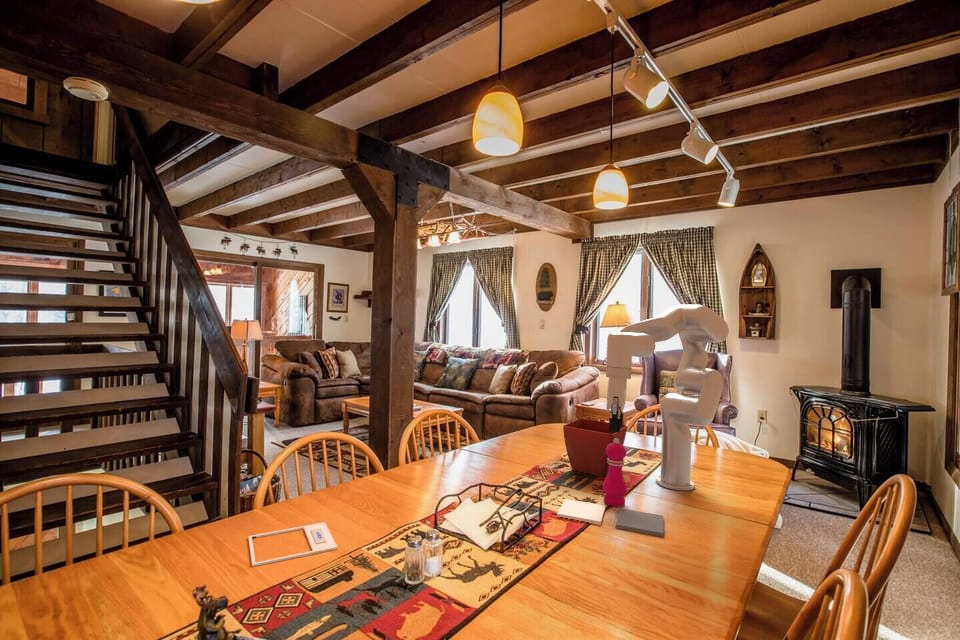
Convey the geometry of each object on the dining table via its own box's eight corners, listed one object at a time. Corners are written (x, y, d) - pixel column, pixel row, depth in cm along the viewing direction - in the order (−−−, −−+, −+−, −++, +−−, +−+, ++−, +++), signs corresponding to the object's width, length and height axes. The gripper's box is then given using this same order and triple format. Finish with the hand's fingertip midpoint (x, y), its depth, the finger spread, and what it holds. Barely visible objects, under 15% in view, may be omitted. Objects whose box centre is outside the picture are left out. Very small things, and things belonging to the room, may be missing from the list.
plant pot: (626, 468, 178) (628, 424, 178) (611, 482, 162) (613, 434, 162) (578, 459, 188) (580, 417, 188) (560, 471, 172) (561, 425, 172)
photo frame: (337, 546, 109) (252, 563, 101) (337, 550, 109) (252, 568, 101) (324, 521, 122) (248, 535, 113) (324, 525, 122) (248, 539, 113)
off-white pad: (565, 501, 143) (565, 498, 143) (605, 509, 138) (605, 505, 138) (557, 517, 132) (557, 513, 132) (600, 525, 127) (600, 521, 127)
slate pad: (619, 511, 137) (619, 508, 137) (663, 519, 133) (663, 515, 133) (615, 527, 126) (615, 524, 126) (663, 536, 121) (663, 533, 121)
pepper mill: (627, 509, 139) (630, 442, 139) (602, 506, 140) (605, 440, 140) (625, 499, 146) (627, 436, 146) (601, 497, 148) (603, 434, 147)
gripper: (608, 369, 153) (606, 422, 152) (602, 374, 136) (599, 432, 136) (632, 371, 150) (630, 425, 150) (629, 376, 134) (626, 436, 134)
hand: (615, 428), depth 143 cm, fingers open, 9 cm apart
